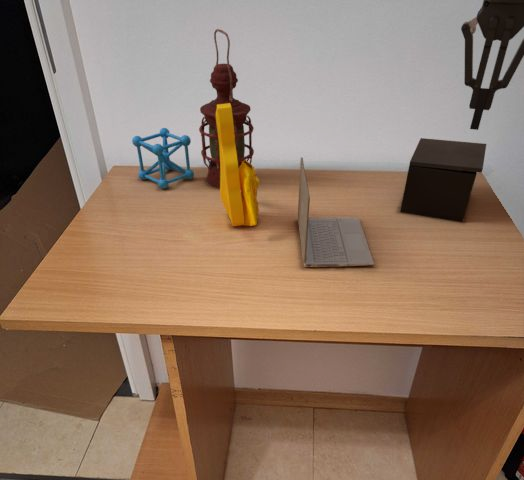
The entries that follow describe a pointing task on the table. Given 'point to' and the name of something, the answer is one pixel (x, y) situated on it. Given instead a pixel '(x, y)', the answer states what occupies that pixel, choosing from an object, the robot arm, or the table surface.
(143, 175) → the molecular structure
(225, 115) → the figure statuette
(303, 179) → the laptop
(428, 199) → the box
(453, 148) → the dark brown box lid
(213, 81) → the lantern
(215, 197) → the table surface
